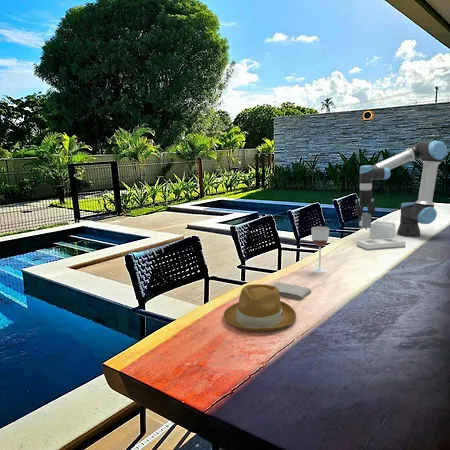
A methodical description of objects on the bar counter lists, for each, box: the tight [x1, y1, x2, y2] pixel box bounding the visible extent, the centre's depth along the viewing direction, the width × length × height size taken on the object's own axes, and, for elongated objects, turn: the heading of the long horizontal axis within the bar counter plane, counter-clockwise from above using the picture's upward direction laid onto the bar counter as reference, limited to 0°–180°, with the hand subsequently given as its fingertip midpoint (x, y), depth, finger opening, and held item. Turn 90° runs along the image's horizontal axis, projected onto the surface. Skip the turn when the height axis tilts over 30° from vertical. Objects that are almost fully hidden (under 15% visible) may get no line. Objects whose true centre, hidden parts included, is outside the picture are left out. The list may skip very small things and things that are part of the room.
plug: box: [358, 212, 372, 231], centre depth 259 cm, size 5×6×10 cm
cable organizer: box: [369, 220, 396, 240], centre depth 268 cm, size 15×11×12 cm
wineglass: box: [310, 226, 330, 274], centre depth 203 cm, size 9×10×22 cm
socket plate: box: [356, 237, 406, 251], centre depth 250 cm, size 26×12×4 cm, turn 101°
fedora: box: [223, 283, 297, 333], centre depth 148 cm, size 27×29×12 cm
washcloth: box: [271, 281, 312, 301], centre depth 174 cm, size 12×18×3 cm, turn 56°
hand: (365, 225), depth 260 cm, fingers closed on plug, 5 cm apart
